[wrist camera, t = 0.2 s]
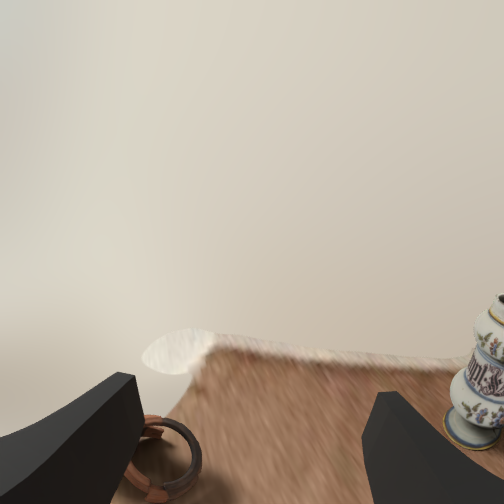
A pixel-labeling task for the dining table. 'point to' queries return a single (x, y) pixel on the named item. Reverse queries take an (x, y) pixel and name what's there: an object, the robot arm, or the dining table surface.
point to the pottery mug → (174, 487)
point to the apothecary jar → (480, 386)
